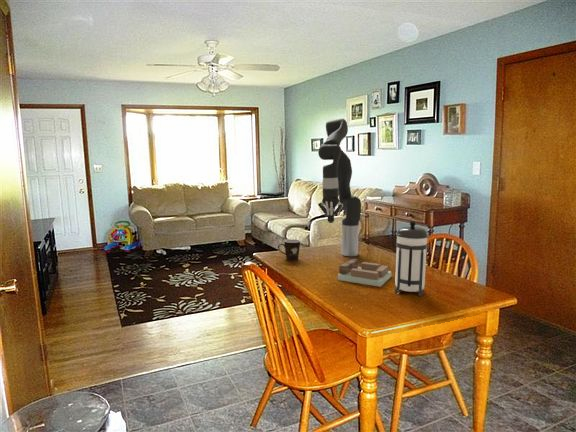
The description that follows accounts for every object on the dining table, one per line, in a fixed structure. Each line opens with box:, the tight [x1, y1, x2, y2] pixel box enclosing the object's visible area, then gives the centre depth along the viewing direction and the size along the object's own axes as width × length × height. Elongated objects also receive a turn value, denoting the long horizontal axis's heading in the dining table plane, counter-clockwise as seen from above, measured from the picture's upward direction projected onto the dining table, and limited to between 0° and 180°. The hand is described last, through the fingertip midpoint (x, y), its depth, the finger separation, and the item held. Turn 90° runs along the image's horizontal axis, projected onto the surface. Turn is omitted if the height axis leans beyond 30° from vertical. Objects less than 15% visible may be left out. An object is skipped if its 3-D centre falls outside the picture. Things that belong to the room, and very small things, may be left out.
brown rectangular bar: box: [338, 258, 359, 274], centre depth 205 cm, size 15×3×4 cm, turn 147°
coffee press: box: [394, 220, 429, 297], centre depth 180 cm, size 17×16×30 cm
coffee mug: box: [277, 238, 301, 262], centre depth 234 cm, size 12×9×10 cm
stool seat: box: [337, 261, 392, 287], centre depth 201 cm, size 17×20×6 cm
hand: (331, 222), depth 210 cm, fingers closed
